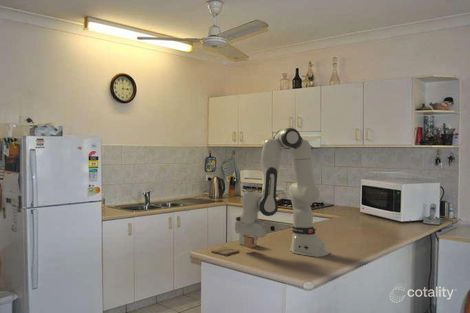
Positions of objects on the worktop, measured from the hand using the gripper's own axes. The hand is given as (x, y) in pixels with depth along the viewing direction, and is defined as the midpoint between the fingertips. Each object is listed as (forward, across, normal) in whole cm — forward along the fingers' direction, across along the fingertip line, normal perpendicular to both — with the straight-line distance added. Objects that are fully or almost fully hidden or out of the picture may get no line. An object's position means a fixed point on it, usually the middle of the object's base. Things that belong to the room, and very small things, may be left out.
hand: (250, 242), depth 231 cm
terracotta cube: (+2, 0, 0) cm, 2 cm away
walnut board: (+5, +9, +11) cm, 15 cm away
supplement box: (+5, +12, -12) cm, 18 cm away
